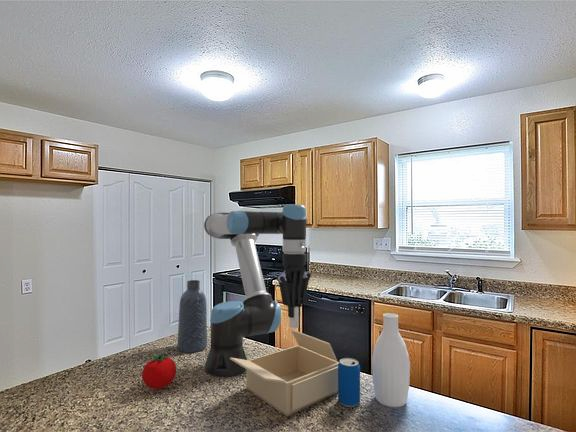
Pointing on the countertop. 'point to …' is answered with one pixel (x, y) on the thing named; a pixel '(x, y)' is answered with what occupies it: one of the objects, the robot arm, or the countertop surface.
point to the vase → (192, 319)
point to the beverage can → (349, 382)
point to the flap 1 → (257, 370)
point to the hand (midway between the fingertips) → (294, 327)
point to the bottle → (391, 365)
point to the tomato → (159, 372)
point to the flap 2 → (314, 344)
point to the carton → (294, 379)
